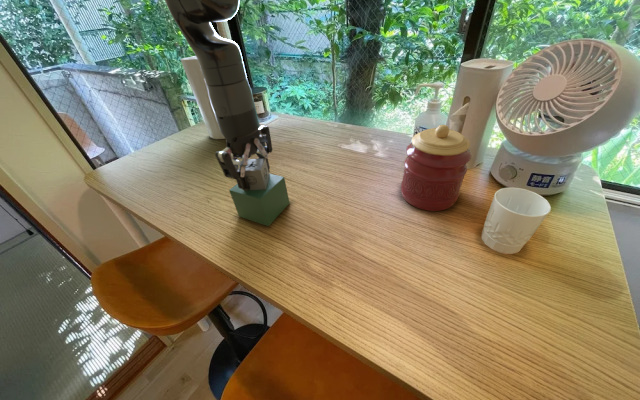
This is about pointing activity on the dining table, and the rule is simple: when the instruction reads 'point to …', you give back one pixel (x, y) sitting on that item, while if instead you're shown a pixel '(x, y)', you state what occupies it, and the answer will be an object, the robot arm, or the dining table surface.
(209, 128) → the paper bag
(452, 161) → the kitchen canister
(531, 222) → the white cup
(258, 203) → the green block
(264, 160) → the dice cube
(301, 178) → the dining table surface
